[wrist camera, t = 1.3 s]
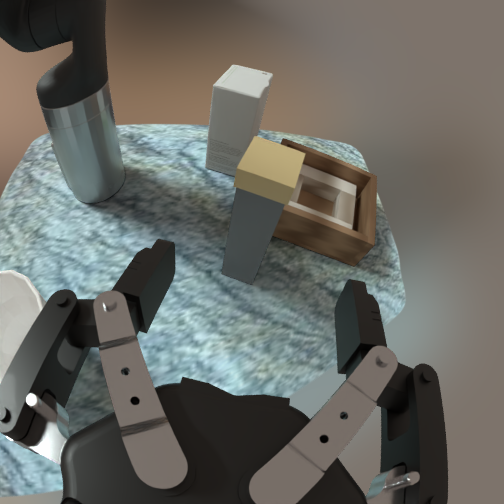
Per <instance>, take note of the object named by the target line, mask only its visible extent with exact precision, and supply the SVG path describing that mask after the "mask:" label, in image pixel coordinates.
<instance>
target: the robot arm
mask: <svg viewBox="0 0 504 504" xmlns="http://www.w3.org/2000/svg"><path fill="white" fill-rule="evenodd" d="M105 13H106V0H0V37H1V38H2V39H3V40H5V41H6V42H7V43H8V44H9V45H11V46H12V47H14V48H15V49H17V50H19V51H22V52H35V51H39V50H43V49H46V48H48V47H51V46H54V45H58V44H61V43H64V42H68V41H72V42H73V52H72V54H71V55H70V56H68V57H67V58H66V59H65V60H63V61H62V62H60V63H58V64H57V65H55V66H54V67H53V68H51V69H50V70H49V71H47V72H46V73H45V74H44V75H43V76H42V77H41V79H40V80H39V82H38V84H37V89H36V90H37V95H38V99H39V103H40V106H41V109H42V112H43V115H44V118H45V122H46V124H47V127H48V130H49V133H50V136H51V139H52V144H51V146H52V149H53V151H54V154H55V156H56V159H57V161H58V164H59V166H60V169H61V171H62V174H63V176H64V178H65V181H66V183H67V185H68V187H69V188H71V189H72V192H73V194H74V196H75V197H76V198H77V199H78V200H79V201H82V202H84V203H96V202H101V201H103V200H106V199H108V198H109V197H111V196H112V195H114V194H115V193H116V192H117V191H118V190H119V189H120V188H121V186H122V185H123V183H124V180H125V170H124V166H123V161H122V156H121V151H120V146H119V141H118V136H117V130H116V125H115V119H114V113H113V107H112V101H111V94H110V87H109V79H108V71H107V56H106V41H105ZM174 274H175V244H174V242H170V241H166V240H161V239H158V240H157V241H156V242H155V244H154V245H153V247H152V248H151V249H150V248H144V249H143V250H141V251H140V252H138V253H137V254H136V255H135V257H134V258H133V260H132V262H130V264H129V265H128V267H127V268H126V270H125V271H124V273H123V274H122V275H121V277H120V278H119V280H118V281H117V283H116V284H115V286H114V287H113V289H112V290H111V291H106V292H103V293H101V294H100V295H98V296H97V297H96V299H92V300H91V299H77V297H76V295H75V293H74V292H73V291H71V290H67V289H64V290H59V291H57V292H55V293H54V294H53V295H52V296H51V297H50V298H49V300H48V301H47V303H46V304H45V306H44V307H43V309H42V310H41V312H40V313H39V315H38V317H37V318H36V320H35V321H34V323H33V325H32V326H31V328H30V330H29V331H28V333H27V335H26V336H25V338H24V340H23V341H22V343H21V345H20V347H19V349H18V350H17V352H16V354H15V356H14V358H13V360H12V361H11V363H10V365H9V367H8V369H7V371H6V373H5V375H4V377H3V379H2V381H1V383H0V432H1V433H2V434H4V435H5V436H6V437H7V438H9V439H10V440H12V441H13V442H15V443H17V444H18V445H20V446H22V447H24V448H26V449H29V450H31V451H33V452H34V453H37V454H41V455H43V456H44V457H46V458H48V459H50V460H52V461H53V462H55V463H57V464H59V465H60V467H61V472H62V478H63V498H62V501H61V504H447V499H448V462H447V444H446V432H445V422H444V413H443V407H442V399H441V392H440V386H439V380H438V376H437V373H436V372H435V371H434V369H433V368H432V367H431V366H429V365H427V364H419V365H417V366H416V367H415V368H414V369H412V368H410V367H408V366H405V365H403V364H400V363H398V361H397V358H396V356H395V354H394V353H393V352H392V351H391V350H390V349H389V348H387V344H386V339H385V334H384V329H383V324H382V322H381V320H382V319H381V314H380V310H379V305H378V303H377V301H376V300H375V298H374V297H373V295H370V294H368V293H367V289H366V284H365V282H361V281H356V280H351V279H349V280H348V281H347V282H346V284H345V287H344V289H343V291H342V293H341V295H340V297H339V299H338V301H337V303H336V307H335V329H336V345H337V366H338V373H339V374H346V380H345V381H344V383H343V384H342V385H341V386H340V387H339V389H338V390H337V391H336V392H335V393H334V394H333V395H332V397H331V398H330V399H329V400H328V401H327V402H326V403H325V404H324V405H323V407H322V408H321V409H320V410H319V411H318V412H317V413H316V414H315V415H314V416H313V417H312V418H311V419H309V418H308V417H307V416H306V415H305V414H304V413H302V412H301V411H299V410H298V409H296V408H294V407H292V406H289V402H290V399H289V398H283V397H276V396H270V395H243V396H236V395H232V394H230V393H228V392H226V391H223V390H221V389H219V388H217V387H215V386H213V385H211V384H209V383H205V382H201V381H197V380H193V379H189V378H186V377H182V380H181V383H171V384H165V385H161V386H158V387H156V388H154V385H153V383H152V380H151V377H150V375H149V372H148V369H147V366H146V364H145V361H144V358H143V355H142V352H141V349H140V346H139V343H138V339H137V337H136V336H137V334H138V332H139V331H141V332H144V333H147V332H148V330H149V328H150V325H151V323H152V321H153V319H154V317H155V315H156V313H157V311H158V309H159V307H160V305H161V303H162V301H163V299H164V297H165V295H166V293H167V291H168V289H169V287H170V285H171V283H172V281H173V278H174ZM91 347H99V353H100V357H101V362H102V366H103V370H104V374H105V378H106V382H107V386H108V390H109V393H110V397H111V400H112V404H113V407H114V410H115V411H114V412H113V413H111V414H109V415H107V416H106V417H104V418H102V419H100V420H99V421H97V422H95V423H93V424H91V425H90V426H88V427H86V428H84V429H82V430H80V431H79V432H77V433H75V434H73V435H72V436H71V437H69V434H68V426H69V416H68V413H67V411H66V410H65V409H64V408H65V405H66V403H67V400H68V398H69V395H70V393H71V391H72V388H73V386H74V383H75V381H76V379H77V376H78V374H79V372H80V370H81V367H82V365H83V363H84V361H85V359H86V356H87V354H88V352H89V350H90V348H91ZM376 405H377V406H380V407H381V427H382V428H381V438H382V439H381V469H380V474H378V475H377V476H376V477H375V478H374V479H373V481H372V483H371V486H370V488H369V492H368V494H367V495H366V496H365V495H364V493H363V491H362V490H361V489H360V487H359V486H358V485H357V483H356V482H355V481H354V480H353V478H352V477H351V476H350V474H349V473H348V471H347V470H346V469H345V467H344V466H343V465H342V463H341V462H340V460H339V459H338V458H337V457H338V456H339V454H340V453H341V452H342V451H343V450H344V448H345V447H346V446H347V445H348V443H349V442H350V441H351V440H352V438H353V437H354V436H355V434H356V433H357V432H358V430H359V429H360V427H361V426H362V425H363V424H364V422H365V421H366V419H367V418H368V417H369V415H370V414H371V412H372V411H373V410H374V408H375V407H376Z"/></svg>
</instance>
